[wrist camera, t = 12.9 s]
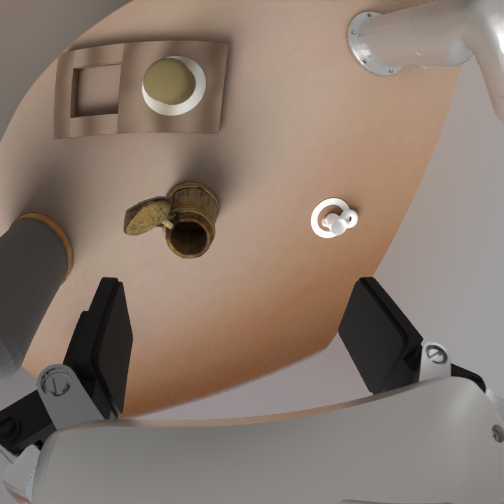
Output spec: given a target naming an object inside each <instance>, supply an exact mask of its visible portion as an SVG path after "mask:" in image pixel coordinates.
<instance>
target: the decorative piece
mask: <svg viewBox="0 0 504 504" xmlns="http://www.w3.org/2000/svg"><path fill="white" fill-rule="evenodd" d="M72 266H73V252H72V248H71V244H70V242H69V240H68V238H67V236H66V234H65V233H64V231H63V230H62V229H61V227H60V226H59V225H58V224H57V223H56V222H54V221H53V220H52V219H51V218H49V217H47V216H45V215H42V214H39V213H28V214H25V215H22V216H21V217H19V218H18V219H17V220H16V221H15V222H14V223H13V224H12V225H11V227H10V228H9V230H8V231H7V232H6V233H5V234H4V235H2V236H1V237H0V382H1V381H4V380H6V379H9V378H11V377H12V376H13V375H14V374H15V373H16V372H17V371H18V369H19V368H20V367H21V365H22V362H23V360H24V358H25V355H26V353H27V351H28V348H29V346H30V344H31V342H32V340H33V337H34V335H35V333H36V331H37V329H38V327H39V325H40V323H41V321H42V319H43V317H44V315H45V313H46V311H47V309H48V307H49V305H50V303H51V302H52V300H53V298H54V296H55V294H56V293H57V291H58V289H59V287H60V285H62V284H63V283H64V282H65V281H66V279H67V277H68V275H69V274H70V272H71V269H72Z"/></svg>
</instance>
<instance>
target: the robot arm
mask: <svg viewBox="0 0 504 504" xmlns="http://www.w3.org/2000/svg"><path fill="white" fill-rule="evenodd" d="M351 32H352V33H351ZM347 41H348V45H349V48H350V50H351V52H352V54H353V56H354V58H355V59H356V60H357V61H358V63H359V64H360V65H362V66H363V67H364V68H365V69H367V70H368V71H370V72H372V73H374V74H377V75H384V76H387V75H393V74H396V73H398V72H399V71H400V70H401V69H402V68H403V67H404V66H416V67H418V68H420V69H422V70H426V69H427V68H428V66H446V67H447V66H448V67H454V66H459V65H462V64H464V63H466V62H467V61H468V60H469V59H470V58H471V57H472V55H473V54H474V55H475V57H476V59H477V62H478V64H479V66H480V68H481V71H482V74H483V77H484V80H485V83H486V86H487V89H488V92H489V96H490V99H491V103H492V106H493V109H494V111H495V113H496V115H497V117H498V119H499V120H500V121H501V122H502V123H503V124H504V0H438V1H434V2H429V3H425V4H420V5H416V6H412V7H408V8H404V9H401V10H397V11H394V12H390V13H387V14H384V15H383V14H380V13H378V12H372V11H370V12H363V13H360V14H358V15H356V16H355V17H354V18H353V19H352V20H351V21H350V23H349V25H348V29H347ZM363 61H364V62H363ZM338 331H339V335H340V337H341V339H342V341H343V343H344V344H345V347H346V348H347V350H348V352H349V354H350V356H351V358H352V360H353V361H354V363H355V365H356V367H357V369H358V371H359V373H360V375H361V377H362V378H363V380H364V382H365V384H366V386H367V388H368V390H369V391H370V392H372V393H373V395H372V396H369V397H365V398H361V399H356V400H353V401H348V402H343V403H339V404H334V405H329V406H325V407H319V408H314V409H308V410H302V411H295V412H289V413H281V414H274V415H265V416H257V417H245V418H232V419H215V420H135V419H118V413H121V414H122V412H123V406H124V397H125V389H126V382H127V375H128V368H129V361H130V355H131V349H132V343H133V334H132V329H131V325H130V320H129V315H128V310H127V304H126V299H125V293H124V287H123V283H122V282H118V279H117V278H109V277H103V278H102V279H101V281H100V284H99V286H98V288H97V291H96V293H95V296H94V298H93V300H92V303H91V305H90V308H89V311H83V312H82V313H81V315H80V318H79V320H78V323H77V325H76V328H75V330H74V333H73V336H72V338H71V341H70V344H69V347H68V350H67V353H66V355H65V358H64V361H63V364H53V365H50V366H48V367H46V368H45V369H43V370H42V371H41V373H40V374H39V376H38V378H37V390H35V391H34V392H32V393H30V394H28V395H27V396H25V397H23V398H22V399H20V400H18V401H17V402H15V403H13V404H12V405H10V406H9V407H7V408H5V409H3V410H2V411H0V504H504V400H503V399H502V398H501V397H499V396H498V395H497V394H495V393H494V392H493V391H491V390H490V389H487V390H486V386H485V383H484V381H483V379H482V378H481V377H480V376H479V375H477V374H475V373H473V372H471V371H468V370H466V369H463V368H461V367H459V366H456V365H454V364H452V363H451V358H450V355H449V353H448V351H447V350H446V349H445V348H444V347H443V346H441V345H439V344H437V343H433V342H429V343H426V344H425V345H424V346H423V347H422V346H421V342H422V341H423V338H422V336H421V335H420V334H419V333H418V331H417V330H416V329H415V327H414V326H413V325H412V324H411V322H410V321H409V320H408V318H407V317H406V316H405V315H404V314H403V312H402V311H401V310H400V308H399V307H398V306H397V305H396V304H395V302H394V301H393V300H392V299H391V297H390V296H389V295H388V294H387V293H386V292H385V290H384V289H383V288H382V286H381V285H380V284H379V283H378V282H377V281H376V279H374V278H373V277H361V278H360V279H359V280H358V281H357V282H356V283H355V285H354V288H353V291H352V294H351V296H350V299H349V302H348V305H347V307H346V310H345V313H344V315H343V318H342V320H341V323H340V325H339V330H338ZM34 469H36V470H35V475H34V481H33V488H32V500H31V503H30V501H29V500H28V498H27V496H26V486H27V483H28V482H29V480H30V479H31V476H30V474H31V473H32V472H33V471H34Z"/></svg>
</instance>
